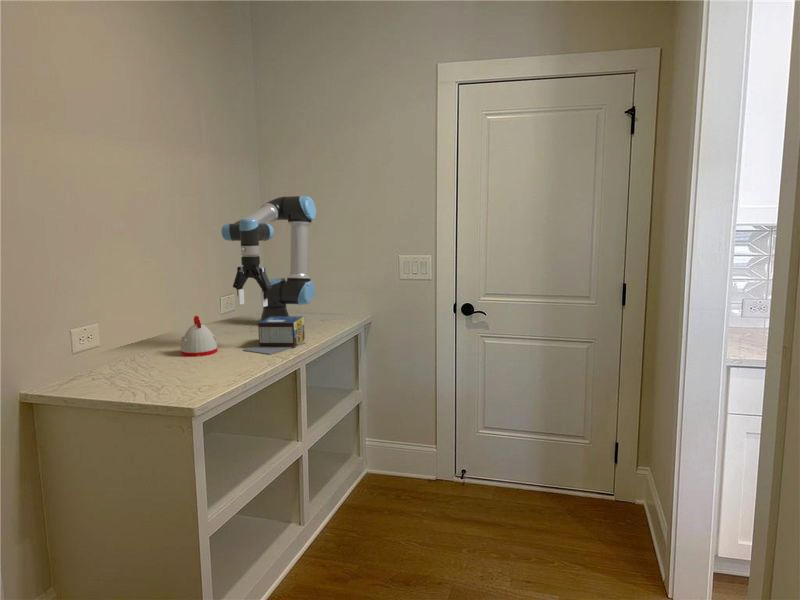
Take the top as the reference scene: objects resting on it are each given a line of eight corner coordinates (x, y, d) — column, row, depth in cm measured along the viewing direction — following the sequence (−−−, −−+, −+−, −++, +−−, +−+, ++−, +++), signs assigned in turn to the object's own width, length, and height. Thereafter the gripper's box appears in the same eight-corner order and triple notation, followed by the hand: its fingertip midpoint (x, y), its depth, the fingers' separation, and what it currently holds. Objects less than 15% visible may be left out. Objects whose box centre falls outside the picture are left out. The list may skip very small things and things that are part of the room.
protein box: (271, 338, 240) (305, 339, 239) (258, 346, 225) (295, 347, 224) (270, 315, 239) (304, 315, 237) (257, 322, 224) (294, 322, 222)
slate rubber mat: (279, 339, 240) (279, 339, 239) (306, 343, 232) (306, 342, 232) (242, 350, 221) (242, 349, 221) (270, 354, 213) (270, 353, 213)
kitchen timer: (212, 346, 228) (210, 312, 226) (221, 353, 217) (219, 316, 215) (177, 351, 221) (174, 315, 218) (185, 358, 209) (182, 320, 207)
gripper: (222, 255, 231) (225, 304, 234) (266, 257, 218) (268, 308, 222) (235, 254, 237) (238, 302, 240) (278, 255, 225) (281, 306, 228)
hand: (253, 305), depth 231 cm, fingers open, 13 cm apart
